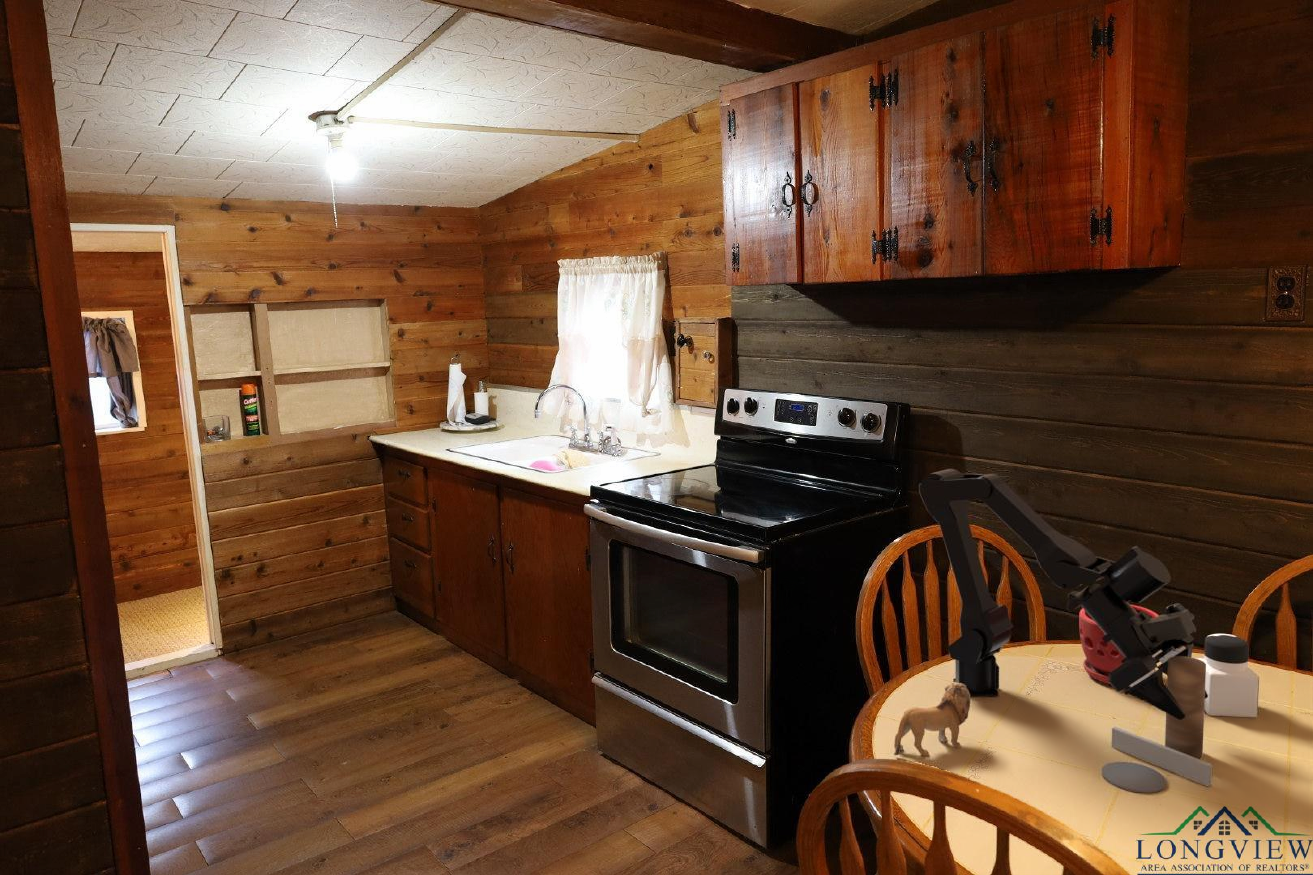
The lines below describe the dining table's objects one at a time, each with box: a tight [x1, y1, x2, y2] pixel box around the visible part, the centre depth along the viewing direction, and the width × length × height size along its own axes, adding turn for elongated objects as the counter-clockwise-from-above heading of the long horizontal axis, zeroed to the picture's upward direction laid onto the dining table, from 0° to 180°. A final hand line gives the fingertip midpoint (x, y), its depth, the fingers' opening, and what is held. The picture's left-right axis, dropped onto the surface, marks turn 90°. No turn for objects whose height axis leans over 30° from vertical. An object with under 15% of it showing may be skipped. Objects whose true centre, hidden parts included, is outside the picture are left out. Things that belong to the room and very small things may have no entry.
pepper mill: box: [1164, 656, 1206, 760], centre depth 130 cm, size 5×5×14 cm
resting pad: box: [1101, 761, 1167, 794], centre depth 125 cm, size 8×8×1 cm
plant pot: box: [1078, 604, 1160, 688], centre depth 158 cm, size 13×13×12 cm
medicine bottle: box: [1194, 633, 1260, 719], centre depth 144 cm, size 7×7×12 cm
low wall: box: [1111, 726, 1213, 787], centre depth 128 cm, size 14×1×3 cm, turn 30°
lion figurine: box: [893, 682, 971, 757], centre depth 135 cm, size 15×5×9 cm, turn 117°
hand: (1194, 708), depth 129 cm, fingers open, 9 cm apart
